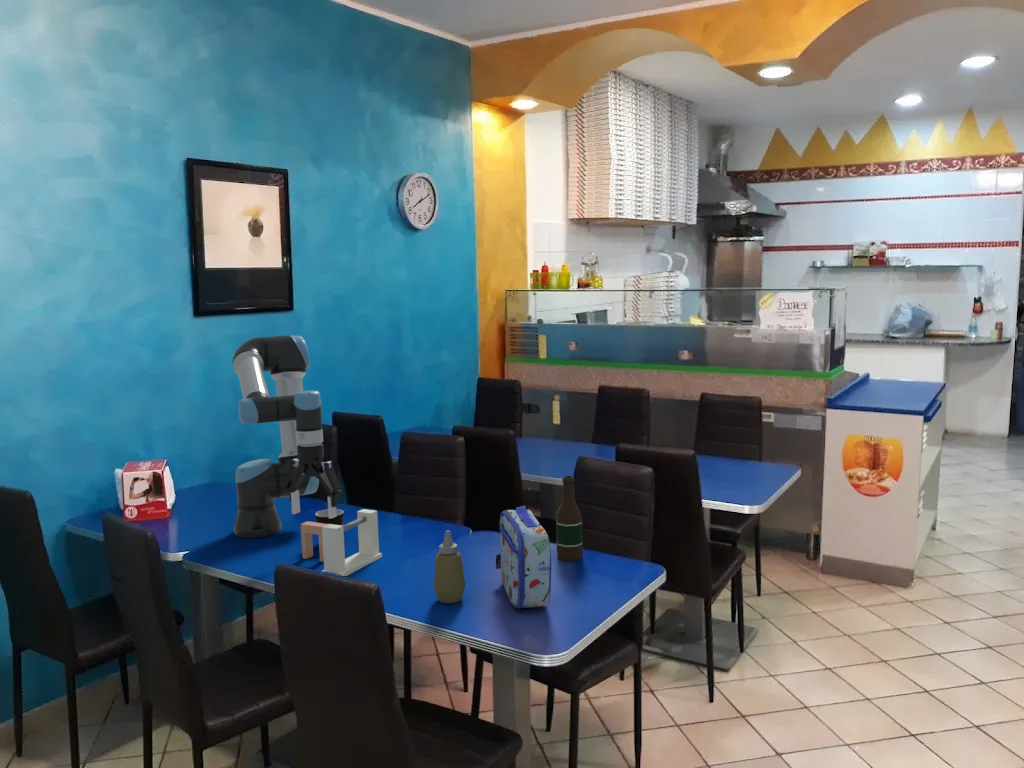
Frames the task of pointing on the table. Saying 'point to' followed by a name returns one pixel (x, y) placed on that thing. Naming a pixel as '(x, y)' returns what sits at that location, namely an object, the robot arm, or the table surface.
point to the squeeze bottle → (449, 572)
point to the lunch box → (524, 559)
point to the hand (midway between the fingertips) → (314, 515)
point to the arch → (306, 537)
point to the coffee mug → (324, 517)
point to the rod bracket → (335, 544)
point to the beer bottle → (569, 525)
